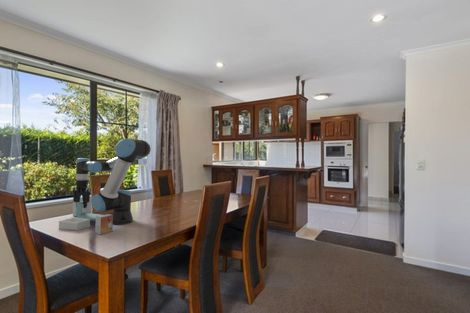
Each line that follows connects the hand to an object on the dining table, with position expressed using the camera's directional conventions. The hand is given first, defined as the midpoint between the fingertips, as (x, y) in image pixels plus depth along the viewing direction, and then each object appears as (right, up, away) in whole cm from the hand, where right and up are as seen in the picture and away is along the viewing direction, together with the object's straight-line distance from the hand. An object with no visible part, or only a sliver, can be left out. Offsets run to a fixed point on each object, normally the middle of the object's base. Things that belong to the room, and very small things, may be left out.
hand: (80, 212), depth 174 cm
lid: (+7, -3, -2) cm, 8 cm away
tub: (+6, -7, -16) cm, 18 cm away
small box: (+29, -8, -23) cm, 38 cm away
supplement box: (-9, -6, +16) cm, 20 cm away
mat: (+9, -7, -2) cm, 11 cm away
